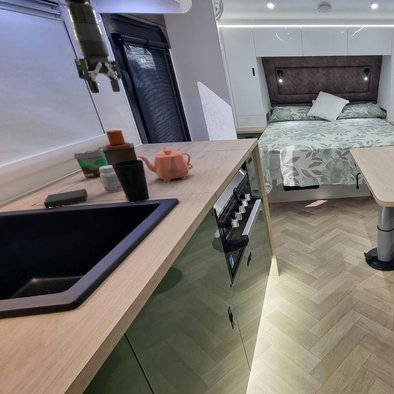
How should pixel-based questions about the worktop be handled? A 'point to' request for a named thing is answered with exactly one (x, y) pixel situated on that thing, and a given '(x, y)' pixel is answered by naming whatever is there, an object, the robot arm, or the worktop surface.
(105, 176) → the pill bottle
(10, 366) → the worktop surface
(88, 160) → the food container
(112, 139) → the hat
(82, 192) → the stand
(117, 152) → the brown tapered pot
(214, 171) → the worktop surface
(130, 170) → the cup
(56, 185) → the worktop surface
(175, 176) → the teapot
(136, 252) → the worktop surface
